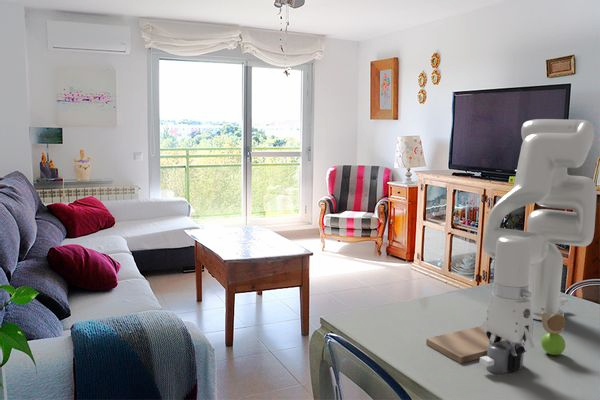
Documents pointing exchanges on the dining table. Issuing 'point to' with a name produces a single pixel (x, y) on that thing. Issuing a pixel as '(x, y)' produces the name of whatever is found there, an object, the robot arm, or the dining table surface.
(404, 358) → the dining table surface
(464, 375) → the dining table surface
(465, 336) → the walnut board
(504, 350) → the block
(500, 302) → the robot arm
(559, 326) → the snail figurine
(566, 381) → the dining table surface
